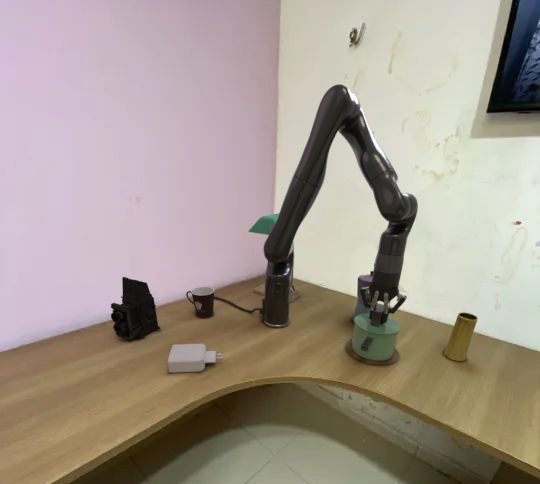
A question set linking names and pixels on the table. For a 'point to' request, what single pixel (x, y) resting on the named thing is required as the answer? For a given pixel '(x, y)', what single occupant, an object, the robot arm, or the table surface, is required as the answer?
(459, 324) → the vase
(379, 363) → the trivet
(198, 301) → the coffee mug
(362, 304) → the moka pot
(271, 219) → the banker's lamp
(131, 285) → the camera
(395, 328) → the pot
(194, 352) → the charger
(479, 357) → the table surface
